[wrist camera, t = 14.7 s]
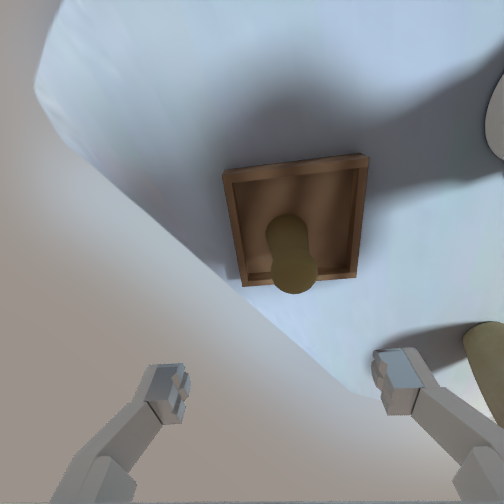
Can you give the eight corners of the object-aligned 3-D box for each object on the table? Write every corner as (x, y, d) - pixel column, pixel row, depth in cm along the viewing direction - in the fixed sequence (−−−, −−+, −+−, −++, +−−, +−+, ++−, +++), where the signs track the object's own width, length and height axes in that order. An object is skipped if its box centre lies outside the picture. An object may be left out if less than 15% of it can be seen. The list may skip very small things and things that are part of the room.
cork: (287, 258, 38) (297, 310, 29) (256, 236, 36) (255, 284, 27) (316, 230, 35) (337, 277, 26) (284, 205, 34) (294, 246, 24)
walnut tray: (360, 153, 31) (369, 157, 28) (349, 266, 40) (356, 277, 37) (225, 169, 32) (221, 175, 30) (243, 275, 41) (242, 286, 39)
